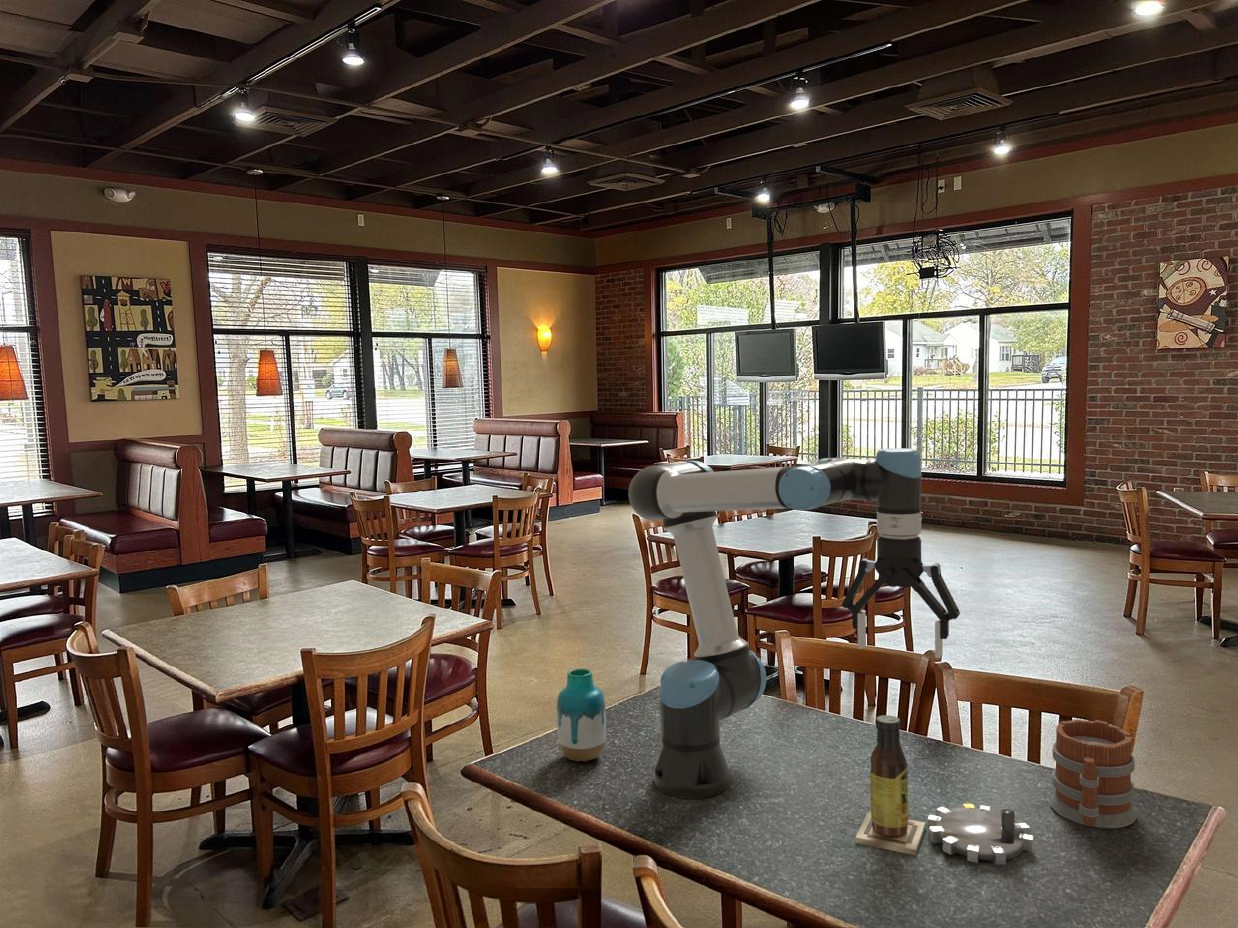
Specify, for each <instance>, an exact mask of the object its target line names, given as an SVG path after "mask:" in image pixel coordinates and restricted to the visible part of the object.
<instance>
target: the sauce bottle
mask: <svg viewBox="0 0 1238 928" xmlns="http://www.w3.org/2000/svg"><path fill="white" fill-rule="evenodd" d="M875 718H876V719H875V726H876V727H875V728H876V731H877V734H876V735H877V738H876V743H877V744H876V746H875V747H874V749H873V750H872V753H871V756H870V770H869V771H870V807H871V808H870V812H871V819H872V827H873V829H874V830H875V831H876V832H877V833H879V834H881V835H884V836H889V837H898V836H901V835H904V834H905V833H906V832H907V827H908V819H909V781H908V780H909V778H908V777H909V772H908V771H909V770H908V762H907V760H906V756H905V753H904V751H903V748H902V746H901V745H902V744H901V741H900V735H901V734H900V729H901V720H900V718H899V717H897V716H894V715H890V714H889V715H887V714H885V715H883V714H882V715H879V716H877V717H875Z"/></svg>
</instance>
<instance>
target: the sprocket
mask: <svg viewBox="0 0 1238 928" xmlns="http://www.w3.org/2000/svg"><path fill="white" fill-rule="evenodd" d="M935 811H936V815H932V814H929V815H928V818H927V830H928V831H929V834H928V835H929V840H930V841H931V842H932V843H941V845H942V851H943V852H944V853H947V854H948V855H950V856H951V855H954V854H955V853H957V854H960V855H962V856H964V857H965V856H966V860H967V862H972V863H976V864H978V863H979V860H983V861H984V860H985V861H992V862H993V863H994V864H995V865H996V866H997V865H1006V864H1007V862H1006V861H1007V860H1009V859H1013V858H1015V857H1017V856H1019V855H1020V854H1021V853H1023V851H1026V852H1027V851H1028V852H1033V848H1034V835H1032V834H1030V828H1031V827H1030V826H1029V825H1028V824H1027V823H1026V822H1017V821H1015V820H1016V819H1015V818H1016V817H1015V816H1016V813H1015V811H1014V810H1012V809H1010V808H1004V809H1001V810H1000V811H1001V812H997V811H993V810H991V806H987V805H980V807H979V808H977V807H975V805H974V804H973V803H963V806H962V807H955V808H949V809H948V808H946V807H944V806H940V807H937V808H936V810H935Z"/></svg>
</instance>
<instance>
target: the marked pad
mask: <svg viewBox="0 0 1238 928" xmlns="http://www.w3.org/2000/svg"><path fill="white" fill-rule="evenodd" d="M925 831H926V822H925V821H919V820H913V819H909V818H908V827H907V832H906V833H905V834H904V835H901V836H898V837H889V836H884V835H881V834H879V833H877V832H876V831H875V830H874V829H873V827H872V819H871V811H867V813H866V816H865V817H864V819H863V821H862V823H861V825H860V826H859V829H858V831H857V834H856V835H855V841H854V842H855V843H856V844H860V845H865V846H868V847H869V846H870V847H874V848H878V849H884V850H889V851H893V852H899V853H900V854H901V853H902V854H907V855H913V856H917V853H918V850H919V847H920V844H921V842H922V838H923V836H924V833H925Z"/></svg>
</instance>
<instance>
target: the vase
mask: <svg viewBox="0 0 1238 928" xmlns="http://www.w3.org/2000/svg"><path fill="white" fill-rule="evenodd" d="M566 674H567V675H566V687H564V688H563V689H561V691H559V692H558V693H559V694H558V696H557V700H556V725H557V726H556V729H557V731H556V732H557V737H558V738H557V739H558V744H559V745H558V746H559V748H560V751H561V753H562V755H563V756H564V757H566V758H567V759H569V760H571V761H573V760H574V762H579V761H583V762H590V761H592V759H593V760H596V759H597V758H598V757H599V756H601V754H602V753H603V752H604V749H605V747H606V743H607V711H606V701H605V696H604V693H603V692H602V689H600V688H599V687H597V686H595V684H594V679H593V671H592V670H591V669H588V668H582V667H581V668H579V667H578V668H573V669H571V670H569V671H568V672H567V673H566ZM589 760H590V761H589Z"/></svg>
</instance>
